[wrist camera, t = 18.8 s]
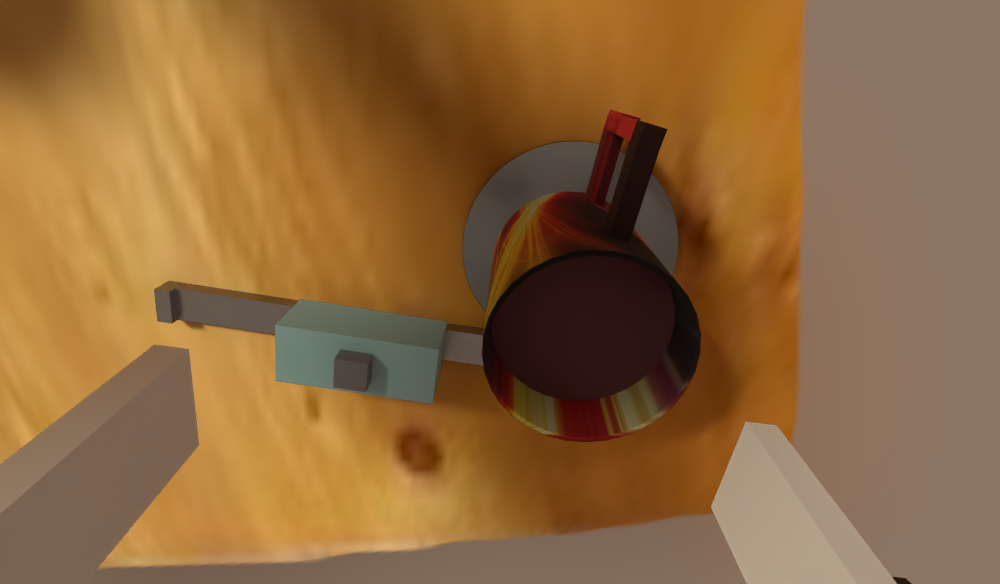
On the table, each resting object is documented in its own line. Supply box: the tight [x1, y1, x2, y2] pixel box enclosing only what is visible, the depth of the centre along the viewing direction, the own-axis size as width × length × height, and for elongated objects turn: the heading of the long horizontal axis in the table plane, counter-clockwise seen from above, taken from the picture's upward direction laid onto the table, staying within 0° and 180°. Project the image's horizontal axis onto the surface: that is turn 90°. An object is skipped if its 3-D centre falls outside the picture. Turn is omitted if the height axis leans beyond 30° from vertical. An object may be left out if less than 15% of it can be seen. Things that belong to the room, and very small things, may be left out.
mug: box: [482, 110, 701, 442], centre depth 28 cm, size 10×14×12 cm
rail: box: [154, 281, 484, 366], centre depth 36 cm, size 2×26×2 cm, turn 81°
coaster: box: [463, 141, 679, 312], centre depth 34 cm, size 14×14×1 cm
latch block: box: [275, 299, 447, 404], centre depth 33 cm, size 4×10×5 cm, turn 81°
